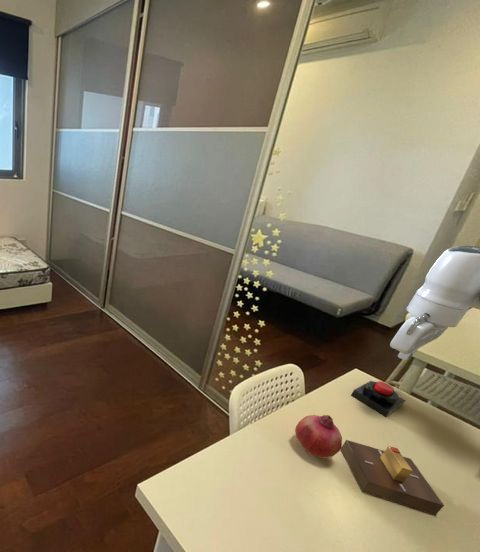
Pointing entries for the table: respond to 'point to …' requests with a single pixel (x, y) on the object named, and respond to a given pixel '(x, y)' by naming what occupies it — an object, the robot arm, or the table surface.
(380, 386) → the bell button
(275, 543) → the table surface
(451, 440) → the table surface
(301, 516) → the table surface
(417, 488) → the plate
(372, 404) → the bell block
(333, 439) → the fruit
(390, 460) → the block
